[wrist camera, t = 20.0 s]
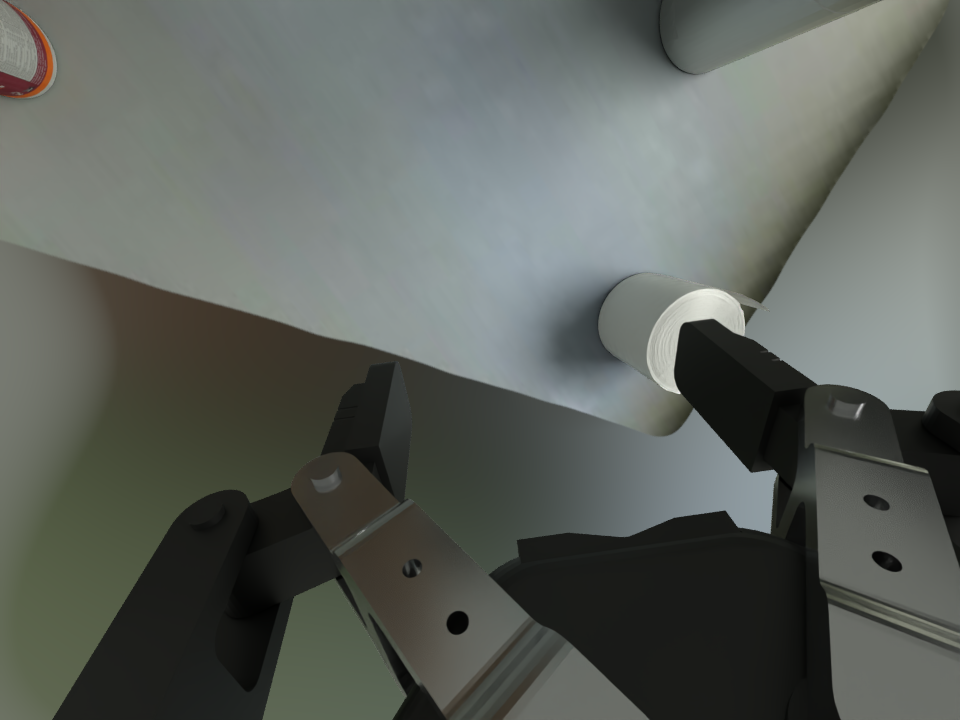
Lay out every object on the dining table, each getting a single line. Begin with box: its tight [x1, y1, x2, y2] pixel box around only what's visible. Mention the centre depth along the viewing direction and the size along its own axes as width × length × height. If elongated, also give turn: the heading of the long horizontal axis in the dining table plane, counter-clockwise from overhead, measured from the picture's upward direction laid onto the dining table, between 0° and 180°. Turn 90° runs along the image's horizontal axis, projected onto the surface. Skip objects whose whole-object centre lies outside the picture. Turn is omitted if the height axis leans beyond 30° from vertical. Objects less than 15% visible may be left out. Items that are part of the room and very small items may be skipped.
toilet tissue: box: [598, 273, 769, 394], centre depth 44 cm, size 11×12×10 cm
